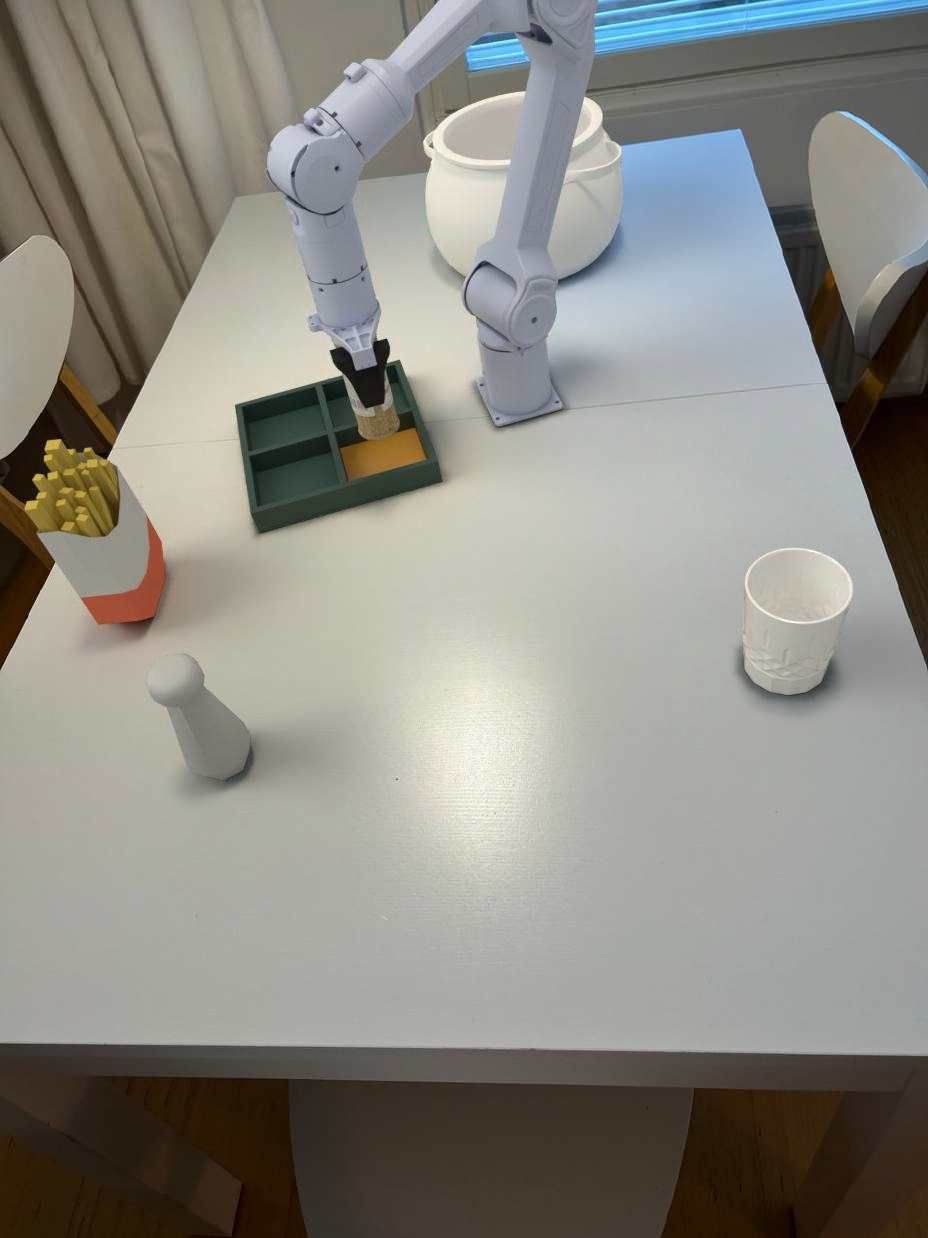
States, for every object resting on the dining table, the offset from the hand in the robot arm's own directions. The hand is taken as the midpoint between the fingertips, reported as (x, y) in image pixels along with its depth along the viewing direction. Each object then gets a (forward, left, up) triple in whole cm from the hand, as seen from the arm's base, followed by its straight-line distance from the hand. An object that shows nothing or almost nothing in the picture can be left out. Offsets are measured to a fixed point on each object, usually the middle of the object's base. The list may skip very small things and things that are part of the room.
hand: (369, 390), depth 96 cm
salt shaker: (+32, -21, -11) cm, 40 cm away
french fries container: (+9, -28, -11) cm, 32 cm away
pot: (-39, +28, -11) cm, 49 cm away
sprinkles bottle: (0, 0, -5) cm, 5 cm away
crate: (-6, -5, -10) cm, 13 cm away
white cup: (+39, +27, -11) cm, 49 cm away
